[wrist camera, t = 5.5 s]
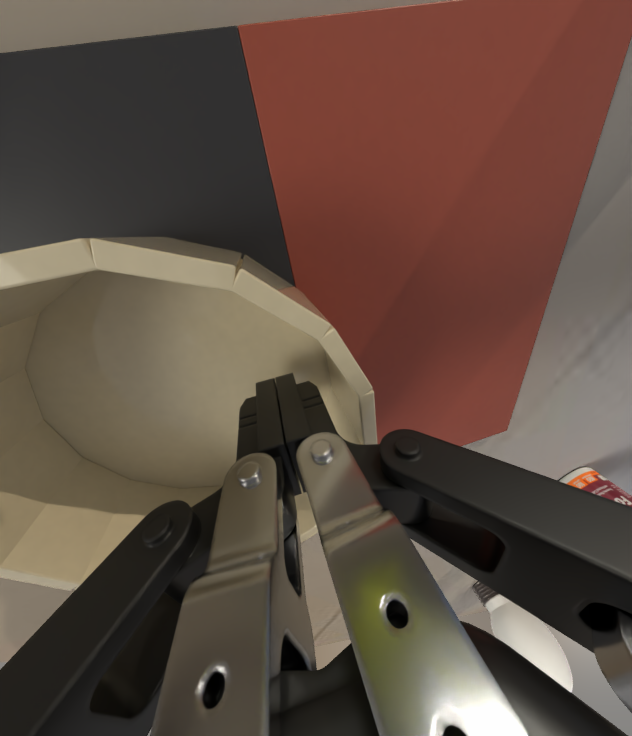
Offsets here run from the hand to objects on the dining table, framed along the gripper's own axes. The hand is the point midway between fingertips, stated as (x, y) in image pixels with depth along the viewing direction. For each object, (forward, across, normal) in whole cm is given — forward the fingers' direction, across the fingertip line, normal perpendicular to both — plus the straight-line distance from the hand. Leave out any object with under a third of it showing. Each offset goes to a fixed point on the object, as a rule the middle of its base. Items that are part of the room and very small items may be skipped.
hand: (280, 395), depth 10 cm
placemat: (+2, -2, 0) cm, 3 cm away
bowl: (+2, +3, 0) cm, 4 cm away
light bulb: (+2, -20, +45) cm, 49 cm away
